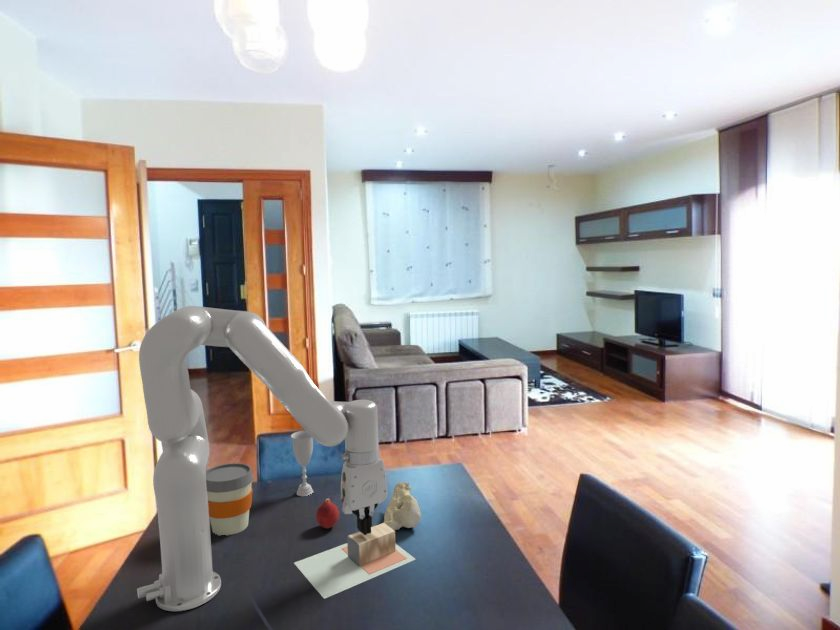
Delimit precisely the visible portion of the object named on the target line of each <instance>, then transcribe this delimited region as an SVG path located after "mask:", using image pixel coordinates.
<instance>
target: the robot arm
mask: <svg viewBox="0 0 840 630" xmlns="http://www.w3.org/2000/svg"><path fill="white" fill-rule="evenodd" d="M200 346H208V347H210V346H211V347H220V348H222V347H223V348H229V349H230V350H231V351H232V353H234V354H235V356H237V357H238V359H239V360H240V361H241V362H242V363H243V364H244V365H245V366H246V367H247V368H248V369H249V370H250V371H251V372H252V373H253V374H254V376H256V377H257V378H258V379H259V380H260V381H261V383H262V384H263V385H264V386H265V387H266V388H267V389H268V390H269V391H270V393H271V394H272V395H273V397H275V399H276V400H277V401H278V402H279V403H280V404H281V405H282V406H283V407H284V408H285V409H286V411H288V412H289V414H290V415H291V416H292V418H293V419H295V421H296V422H297V423H298V424H299V425H300V426H301V427H302V428H303V429H304V431H307V432H308V433H309V434H310V435H311V436H312V437H313V440H314V441H315V442H317V443H318V444H320V445H321V446H324V447H327V448H328V447H331V448H332V447H335V446H336V447H337V446H338V445H340V444H342V443H343V441H344V443H345V444H344V445H345V446H344V447H345V449H344V453H343V454H341V455H340V460H341V462H343V464H342V465H343V466H342V470H341V476H340V477H341V478H340V501H341V504H342V507H341V508H342V509H341V512H342V513H343V514H344V515H352V514H353V515H355V516H356V527H357V530H358V532H361V533H363V534H364V535H367V533H368V534H369V533H371V527H373V523H372V522H373V521H372V520H373V519H372V518H373V517H372V516H374V513H375V510H376V508H377V507H378V506H379V505H380V504H381V503H384V502H385V500H386V499H387V497H388V483H387V475H386V469H385V464H384V461H383V458H382V457H381V456H380V453H379V452H380V451H379V447H380V446H379V418H378V417H379V415H378V413H379V412H378V405H377V404H376V403H375V402H374V401H373V400H370V399H356V400H352V401H336V400H335V401H334V400H329V399H328V398H327V397H326V396H325V394H323V393H322V391H321V390H320V389H319V388H318V387H317V386H316V384H315V383H314V382H313V380H312V379H311V376H309V374H308V372H307V370H306V369H305V367H304V366H303V364H301V362H300V361H299V359H298V358H297V357H295V355H294V354H293V353H292V352H291V350H289V349H288V348H287V347H286V346H285V345H284V343H282V342H281V340H280V339H279V338H278V337H277V336H276V335H275V334H274V333H273V332H272V330H271V329H270V328H269V327H268V326H267V325H266V323H265V321H264V319H263V318H262V317H261V316H260V315H259V314H257V313H256V312H252V311H247V310H234V309H224V308H216V307H215V308H214V307H206V306H198V305H190V306H189V305H188V306H184V307H181V308H179V309H175V310H174V311H173V312H170V313H168V314H167V315H166V316H165V317H163V318H161V319H160V320H159V321H157V322H155V324H154V325H153V326H150V328H149V330H148V331H147V332H146V333H145V335H144V337H143V339H142V341H141V342H140V346H139V352H138V363H139V364H138V365H139V370H140V371H139V372H140V377H141V383H142V391H143V397H144V403H145V410H146V417H147V418H146V419H147V425H148V429H149V431H150V433H151V434H152V436H153V437H154V438H155V439H157V441H160V443H161V448H162V452H161V455H160V456H159V458H158V459H157V462H156V464H155V468H154V471H153V479H152V482H153V484H152V485H153V491H154V496H155V502H156V509H157V519H158V520H157V523H158V530H159V533H158V534H159V542H160V543H159V544H160V560H161V573H160V574H158V579H157V580H155V581H153V583H151V584H149V585H144V586H140V587H138V588H137V589H136V591H137V592H136V593H137V598H138V599H142V598H145V597H146V602H148V601H149V602H150V601H152V600H155V604H156V605H157V607H158V608H159V609H161V610H163V611H168V612H183V611H187V610H192V609H195V608H198V607H199V606H201V605H203V604H206V603H207V602H209V601H211V600H212V599H213V598H214V597H215V596H216V595H217V594H218V593H219V592H220V590H221V587H222V579H221V576H220V575H219V574H218V573H217V572H215V571H214V570H213V555H212V542H211V541H212V540H211V522H210V517H209V507H208V496H207V487H206V471H207V470H208V465H209V460H210V455H211V454H210V450H211V449H210V442H209V435H208V429H207V424H206V419H205V418H206V417H205V411H204V406H203V403H202V399H201V397H200V396H199V394H198V393H197V392H195V391H194V389H191V383H190V374H189V370H188V365H187V357H188V356H189V354H190V353H191V352H192V351H194V350H195V349H197V348H199V347H200Z"/></svg>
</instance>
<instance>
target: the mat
mask: <svg viewBox="0 0 840 630" xmlns="http://www.w3.org/2000/svg"><path fill="white" fill-rule="evenodd" d="M395 549H396V551H395V552H393V553H390V554H388V555H385V556H383V557H380V558H378V559H376V560H373V561H371V562H368V563H366V564H363V565H361V566H357V565H356V564H355V563H354V562H353V561H352V560H351V559H350V558H349V557H348V547H347V543H343V544H340V545H338V546H336V547H332V548H331V549H327V550H324V551H322V552H319V553H317V554H314V555H311V556H308V557H306V558H303V559H300V560H297V561H295V562H293V564H294V565H295V566H296V568H297V569H298V570H299V571H300V573H301V574H303V576H304V578H305V579H307V580H308V582H309V583H310V584H311V585H312V586H313V588H314V589H315V591H317V592H318V593H319V595H320V596H321V597H322V598H323V599H328V598H330V597H332V596H335V595H336V594H340V593H341V592H343V591H346V590H349V589H351V588H353V587H355V586H358V585H360V584H363V583H364V582H367V581H369V580H372V579H374V578H376V577H379V576H380V575H384V574H386V573H387V572H391V571H393V570H395V569H396V568H400V567H402V566H404V565H406V564H407V565H408V564H409V563H411V562H414V561H415V560H417V559H416V558H415V557H414V556H412V555H411V554H410V553H409V552H407V551H406V550H404V549H403V547H401V546H399V545H398V544H397V543H396V542H395Z"/></svg>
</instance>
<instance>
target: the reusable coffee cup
mask: <svg viewBox="0 0 840 630" xmlns="http://www.w3.org/2000/svg"><path fill="white" fill-rule="evenodd" d="M253 481H254V476H253V470H252V466H250V465H249V464H247V463H241V462H233V463H232V462H231V463H224V464H219V465H216V466H213V467H211V468H209V469H207V470H206V487H207V496H208V507H209V521H210V528H211V531H212V533H213V534H214V533H215V534H214V535H216V534H217V536H221V535H226V536H231V535H235V534H239V533H241V532H243V531H244V530H246V529H247V527H248V526H249V517H250V509H251V507H252V501H253V492H254V491H253V487H252V483H253Z"/></svg>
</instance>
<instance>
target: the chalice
mask: <svg viewBox="0 0 840 630" xmlns="http://www.w3.org/2000/svg"><path fill="white" fill-rule="evenodd" d="M290 437H291V439H292V452H293V455H294V457H295V460H296V461H297V463H298V464H299V466H301V468H302V470H301V473H302V476H301V479H302V483H301V484H299V486H298V489H297V491H296V495H297V496H298V497H307V496H308V495H309V496H311V495H313V494H312V493H314V490H313V488H312V486H311V484H310V483H308V482H307V479H308V476H307V469H306V468H307V467H306V466H307V465H309V463H310V460H311V458H312V455H313V450H314V438H313V437H312V436H311V435H310V434H309V433H308V432H307V431H306V430H300V431H296V432H293V433H292V434H290ZM310 494H311V495H310Z"/></svg>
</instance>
